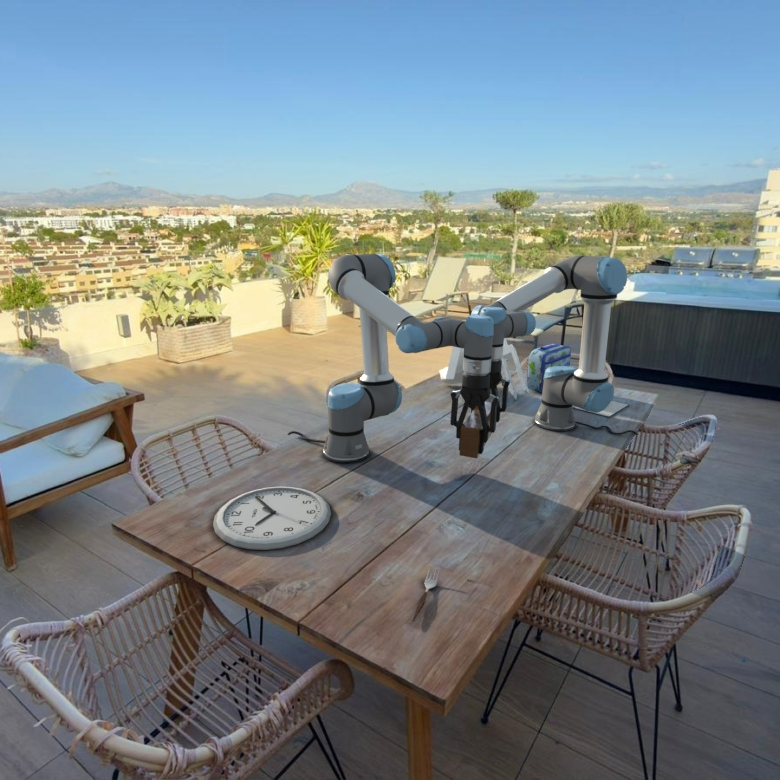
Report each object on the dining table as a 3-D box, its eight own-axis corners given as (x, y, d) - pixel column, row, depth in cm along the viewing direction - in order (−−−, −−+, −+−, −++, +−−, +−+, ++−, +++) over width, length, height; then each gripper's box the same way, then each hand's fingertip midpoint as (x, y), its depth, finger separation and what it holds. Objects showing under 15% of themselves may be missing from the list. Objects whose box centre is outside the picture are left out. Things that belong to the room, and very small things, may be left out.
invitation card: (608, 416, 214) (573, 407, 224) (608, 416, 214) (573, 408, 224) (628, 404, 229) (594, 396, 238) (628, 405, 229) (594, 397, 238)
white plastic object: (461, 429, 252) (437, 405, 227) (444, 352, 274) (420, 323, 250) (535, 404, 240) (518, 377, 215) (510, 326, 262) (492, 293, 237)
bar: (478, 426, 170) (480, 400, 168) (494, 428, 168) (496, 402, 166) (459, 455, 148) (461, 426, 146) (477, 458, 147) (479, 429, 144)
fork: (406, 621, 101) (406, 613, 100) (428, 573, 115) (429, 565, 115) (419, 625, 100) (419, 616, 99) (440, 576, 114) (440, 568, 114)
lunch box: (542, 396, 239) (547, 351, 232) (522, 391, 246) (526, 347, 240) (570, 385, 256) (575, 343, 250) (550, 380, 263) (554, 339, 257)
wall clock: (329, 541, 123) (198, 546, 121) (329, 547, 124) (199, 552, 121) (332, 482, 152) (226, 484, 149) (332, 487, 152) (226, 489, 150)
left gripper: (440, 372, 143) (436, 450, 150) (507, 380, 137) (500, 461, 144) (448, 365, 150) (444, 440, 157) (512, 373, 143) (505, 450, 150)
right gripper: (457, 358, 159) (453, 429, 166) (517, 364, 153) (511, 438, 160) (463, 353, 166) (459, 421, 173) (521, 359, 159) (515, 430, 166)
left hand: (471, 450), depth 150 cm, fingers closed on bar, 5 cm apart
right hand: (484, 429), depth 166 cm, fingers closed on bar, 5 cm apart
